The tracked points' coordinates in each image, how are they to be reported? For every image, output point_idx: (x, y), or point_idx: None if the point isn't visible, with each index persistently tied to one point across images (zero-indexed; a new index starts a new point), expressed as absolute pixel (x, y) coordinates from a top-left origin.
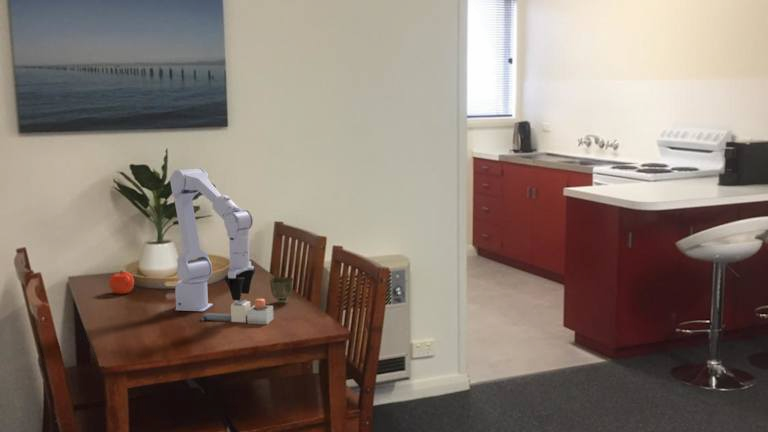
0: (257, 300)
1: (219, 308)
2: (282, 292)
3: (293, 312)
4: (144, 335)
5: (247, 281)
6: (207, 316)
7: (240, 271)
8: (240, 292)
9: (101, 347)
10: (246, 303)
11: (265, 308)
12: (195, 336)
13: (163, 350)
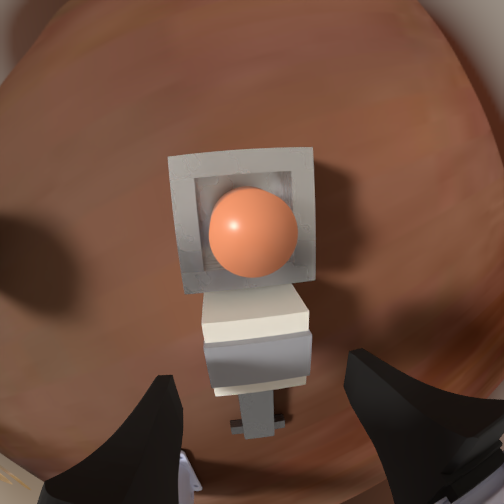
0: (278, 247)
1: None
2: None
3: (57, 118)
4: None
5: (156, 454)
6: (273, 420)
7: (500, 498)
8: (397, 371)
9: None
10: (261, 323)
11: (196, 201)
12: (436, 344)
13: (496, 338)
